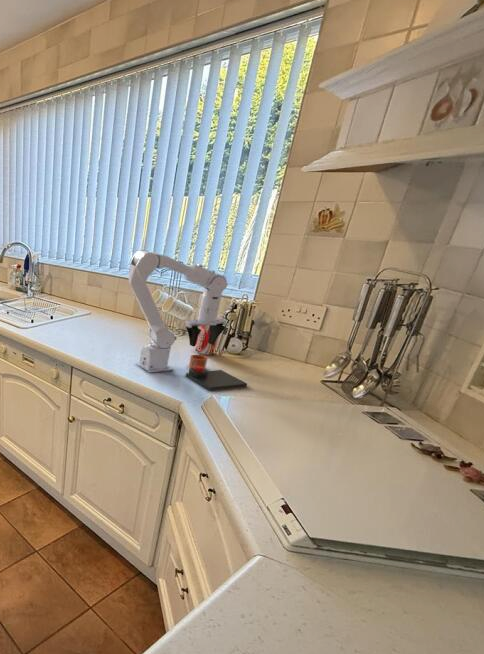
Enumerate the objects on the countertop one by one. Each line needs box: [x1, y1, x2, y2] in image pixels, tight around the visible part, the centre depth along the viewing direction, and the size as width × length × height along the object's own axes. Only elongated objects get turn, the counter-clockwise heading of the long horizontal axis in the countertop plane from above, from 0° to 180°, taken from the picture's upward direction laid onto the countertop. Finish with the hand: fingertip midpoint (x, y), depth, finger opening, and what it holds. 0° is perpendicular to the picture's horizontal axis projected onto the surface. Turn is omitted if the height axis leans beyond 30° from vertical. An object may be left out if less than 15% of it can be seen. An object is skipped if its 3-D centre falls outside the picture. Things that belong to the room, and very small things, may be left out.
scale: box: [185, 367, 248, 392], centre depth 136 cm, size 14×13×3 cm
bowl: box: [188, 354, 208, 370], centre depth 146 cm, size 5×5×4 cm
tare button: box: [194, 365, 204, 372], centre depth 137 cm, size 3×3×2 cm
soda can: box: [194, 326, 218, 356], centre depth 160 cm, size 7×7×12 cm
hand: (201, 344), depth 143 cm, fingers open, 7 cm apart
